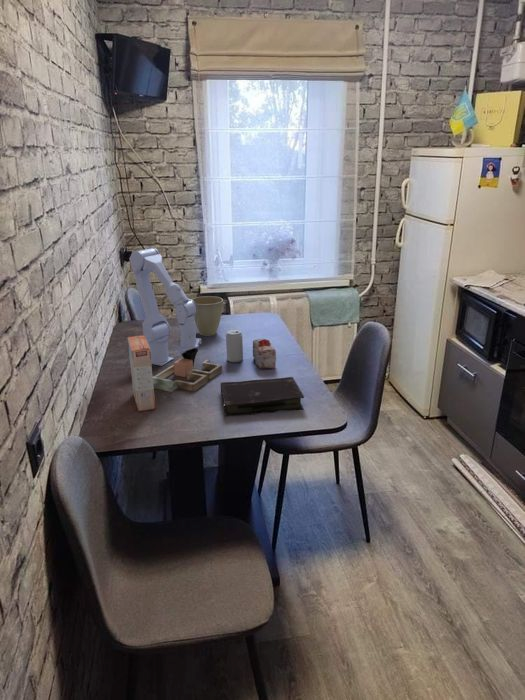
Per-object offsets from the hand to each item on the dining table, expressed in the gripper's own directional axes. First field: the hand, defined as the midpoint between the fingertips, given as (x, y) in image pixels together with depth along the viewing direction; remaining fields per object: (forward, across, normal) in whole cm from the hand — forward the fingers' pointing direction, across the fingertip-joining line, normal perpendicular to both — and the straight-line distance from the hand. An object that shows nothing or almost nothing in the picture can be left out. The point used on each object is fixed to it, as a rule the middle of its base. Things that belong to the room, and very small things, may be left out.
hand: (190, 367), depth 185 cm
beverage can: (+1, +15, -11) cm, 19 cm away
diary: (+2, -13, -36) cm, 38 cm away
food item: (+1, +16, -23) cm, 28 cm away
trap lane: (+1, -7, -3) cm, 8 cm away
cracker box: (+1, -29, -1) cm, 29 cm away
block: (+1, -4, 0) cm, 4 cm away
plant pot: (+1, +39, +16) cm, 43 cm away
